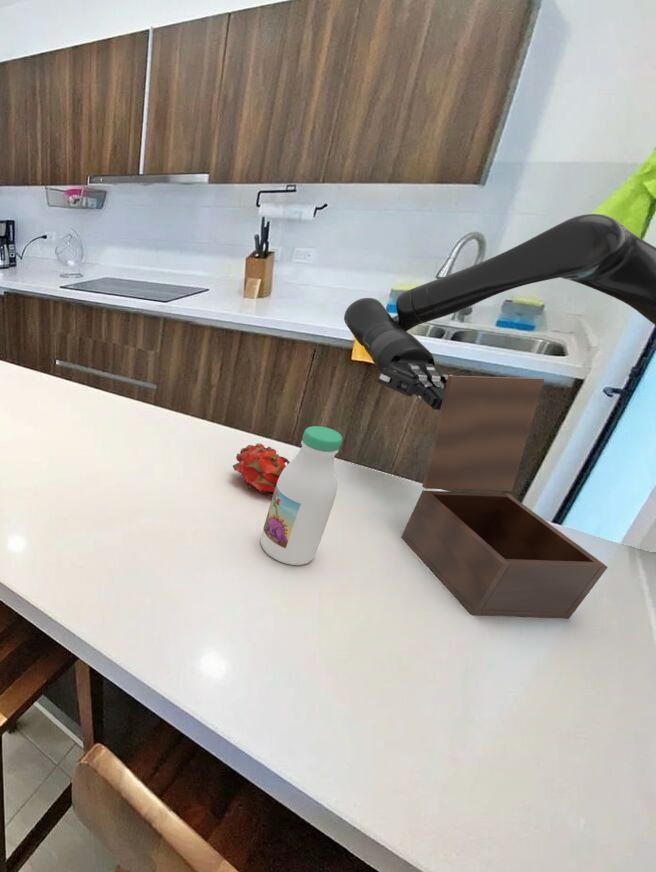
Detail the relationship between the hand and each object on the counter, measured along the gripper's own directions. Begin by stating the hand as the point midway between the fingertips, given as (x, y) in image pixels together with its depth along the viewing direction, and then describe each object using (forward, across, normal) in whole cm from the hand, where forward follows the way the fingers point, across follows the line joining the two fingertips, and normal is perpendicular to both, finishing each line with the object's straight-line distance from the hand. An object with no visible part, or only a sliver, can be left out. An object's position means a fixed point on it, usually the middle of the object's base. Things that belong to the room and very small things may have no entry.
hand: (442, 405), depth 77 cm
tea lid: (+6, +3, +1) cm, 7 cm away
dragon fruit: (+1, -22, +20) cm, 30 cm away
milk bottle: (+18, -22, +18) cm, 33 cm away
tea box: (+18, +4, +17) cm, 25 cm away
